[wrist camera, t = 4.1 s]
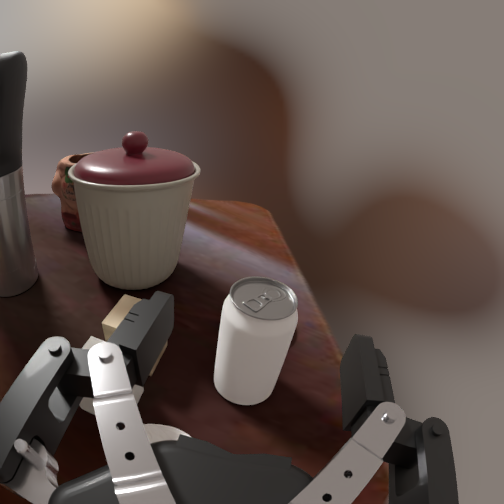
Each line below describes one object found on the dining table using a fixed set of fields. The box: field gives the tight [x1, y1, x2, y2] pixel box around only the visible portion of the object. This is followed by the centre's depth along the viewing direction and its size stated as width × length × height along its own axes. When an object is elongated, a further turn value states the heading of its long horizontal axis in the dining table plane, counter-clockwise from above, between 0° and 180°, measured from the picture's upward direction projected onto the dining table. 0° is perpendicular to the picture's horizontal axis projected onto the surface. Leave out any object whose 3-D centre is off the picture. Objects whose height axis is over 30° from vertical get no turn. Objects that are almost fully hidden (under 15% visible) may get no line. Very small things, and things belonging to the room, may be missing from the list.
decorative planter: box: [52, 152, 94, 232], centre depth 52 cm, size 20×12×14 cm, turn 88°
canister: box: [68, 131, 200, 290], centre depth 39 cm, size 18×18×21 cm
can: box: [214, 277, 298, 405], centre depth 27 cm, size 6×6×12 cm
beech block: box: [102, 294, 167, 376], centre depth 29 cm, size 5×5×6 cm
